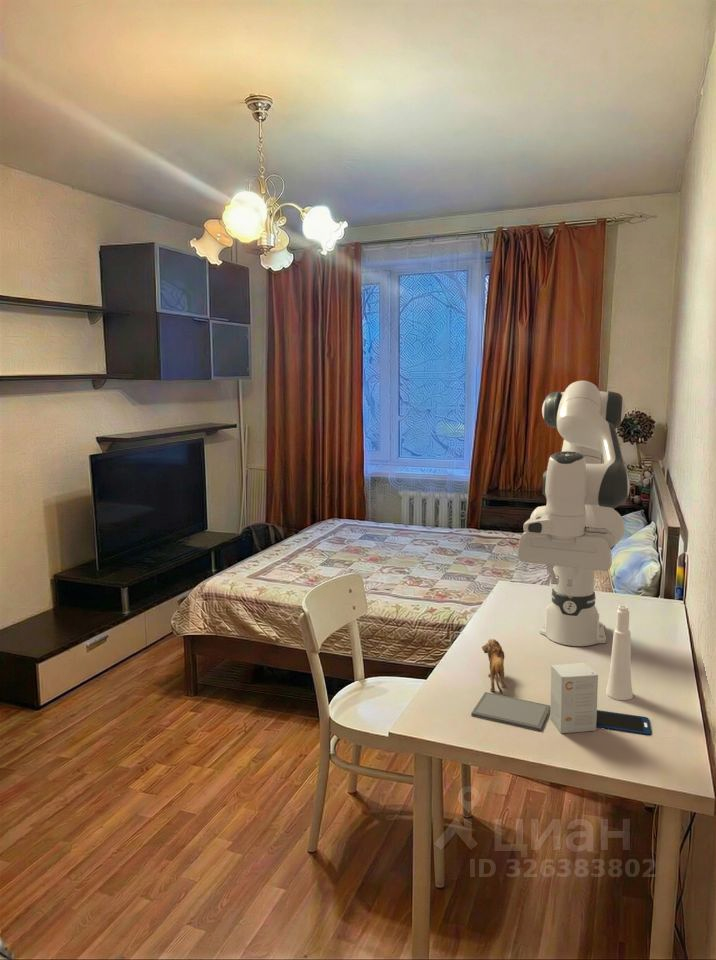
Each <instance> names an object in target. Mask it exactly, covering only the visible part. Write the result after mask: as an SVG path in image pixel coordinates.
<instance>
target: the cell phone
mask: <svg viewBox="0 0 716 960" xmlns="http://www.w3.org/2000/svg"><path fill="white" fill-rule="evenodd" d="M650 722H651V721H650V718H649V717H647V716H643V715H642V716H641V715H633V714H629V713H628V714H627V713H622V712H620V713H619V712H614V711H608V710H607V711H606V710H600V709H597V720H596V729H602V728H604V729H603V730H608V729H609V731H610V730H611V731H616V732H623V733H630V734H637V735H643V736H651V735H652V728H651V727H652V726H651V723H650Z"/></svg>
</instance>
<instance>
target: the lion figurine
mask: <svg viewBox="0 0 716 960" xmlns="http://www.w3.org/2000/svg"><path fill="white" fill-rule="evenodd" d="M487 641H488V642H487V643H485V644H484V645H482V646H481V649H482V651H483V653H484V654H487V657H488V660H489V674H488V675H487V676H488V677H489V678H490V686H491V688H490V692H495V691H496V687H495V686H497V689H498V692H499V693H500V695H501V694H504V691H503V690H502V688H507V684H506V683H505V666H504V660H505V651H504V650H503V648H502V646H501V644H500V643H499V641H498V640H496V639H495V638H489V639H488V640H487ZM499 677H500V678H499ZM499 679H500V684H499ZM495 683H496V685H495ZM500 685H501V686H500ZM501 687H502V688H501Z"/></svg>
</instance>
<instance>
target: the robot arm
mask: <svg viewBox="0 0 716 960" xmlns="http://www.w3.org/2000/svg"><path fill="white" fill-rule="evenodd" d="M626 412H627V411H626V404H625V400H624V399H623V396H622V395H621V393H619V392H615V391H611V390H608V391H602V390H601V391H600V389H599V388H598V386H597V385H596V384H594V383H593V382H590V381H587V380H577V381H574V382H571V383H570V384H569V385H568V386H567V387H566V388H565V390H564V391H561V390H558V391H553V392H551V393H549V394H547V395H546V396H545V399H544V400H543V403H542V407H541V414H542V418H543V421H544V424H545V425H546V426H547V427H549V428H552V429H557V432H558V433H559V435H560V436H561V438H562V439H563V441H562V448H561V451H559V452H555V453H552V454H551V455H550V457H549V458H548V463H547V469H546V470H545V471H544V472H543V474H542V495H543V496H544V497H545V498H546V505H541V506H537V507H535V509H534V510H533V511H532V512H531V514H530V518H528V519H527V520H526V521H525V522H524V523H523V527H522V528H523V533H522V534H521V535H520V537H519V541H518V547H517V558H518V560H519V561H520V562H522V563H527V564H529V563H530V564H538V565H545V566H546V568H545V569H546V572H547V573H548V574H549V576H550V584H551V585H553V588H552V589H551V603H549V604H548V606H546V609H545V620H544V621H545V622H544V623H545V624H544V625H542V626H540V628H539V629H538V632H539V634H541V635H544V636H546V637H547V638H548V639H549V640H551V641H552V642H554V643H558V644H560V645H563V646H564V645H565V646H569V647H571V646H572V647H586V646H592V645H595V644H606V643H607V637H606V632H605V628H604V623H603V621H601V620H600V613H599V612H598V609H597V606H596V592H595V589H594V588H595V571H600V572H601V571H602V572H608V571H609V570H610V569H611V568H612V563H613V557H612V555H613V554H612V548H613V547H614V546H616V545H617V544H618V543H620V541H621V540H622V539H623V537H624V533H625V530H626V529H625V521H624V519H623V517H622V516H621V514H620V513H619V512H618V511H617V510H615V509H616V508H617V507H619V506H621V505H622V504H623V503H625V501H627V500H628V498H629V494H630V490H631V489H630V488H631V487H630V486H631V484H630V483H631V481H630V478H629V475H628V473H627V469H626V466H625V463H624V460H623V454H622V450H621V446H620V441H619V437H618V434H617V431H616V429H618V428H619V426H621V424H622V422H623V420H624V419H625V415H626ZM602 459H603V463H602Z"/></svg>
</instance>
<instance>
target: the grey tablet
mask: <svg viewBox="0 0 716 960" xmlns="http://www.w3.org/2000/svg"><path fill="white" fill-rule="evenodd" d="M550 705H551V704H545V703H541V702H535V701H532V700H531V701H530V700H526V699H522V698H521V699H520V698H516V697H510V696H506V695H501V694H496V693H493V692H487V691H485V692H484V693H483V695H482V696H481V698H480V699H479V700H478V703H477V704H476V705H475V707H474V708H473V710H471V714H470V715H471V716H472V717H476V718H482V719H484V720H485V719H486V720H490V721H493V722H500V723H503V724H508V725H513V726H516V727H520V726H521V727H522V728H525V727H526V728H525V729H529V730H535V731H538V730H539V731H538V732H541V731H542V728H543V727H544V724H545V722H546V720H547V717H548V716H549V713H550ZM521 727H520V728H521ZM530 728H531V729H530Z"/></svg>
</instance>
